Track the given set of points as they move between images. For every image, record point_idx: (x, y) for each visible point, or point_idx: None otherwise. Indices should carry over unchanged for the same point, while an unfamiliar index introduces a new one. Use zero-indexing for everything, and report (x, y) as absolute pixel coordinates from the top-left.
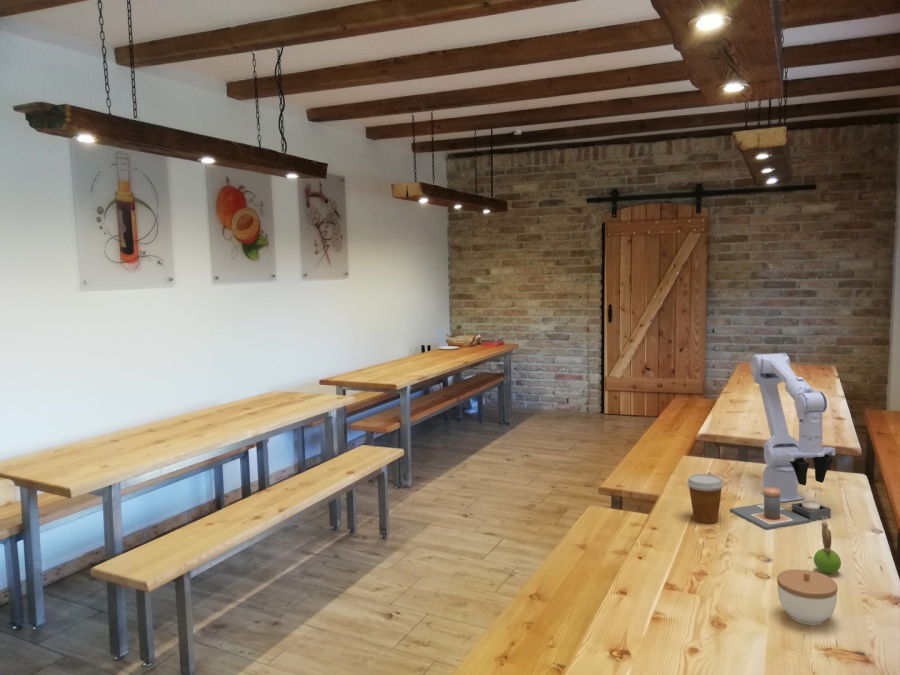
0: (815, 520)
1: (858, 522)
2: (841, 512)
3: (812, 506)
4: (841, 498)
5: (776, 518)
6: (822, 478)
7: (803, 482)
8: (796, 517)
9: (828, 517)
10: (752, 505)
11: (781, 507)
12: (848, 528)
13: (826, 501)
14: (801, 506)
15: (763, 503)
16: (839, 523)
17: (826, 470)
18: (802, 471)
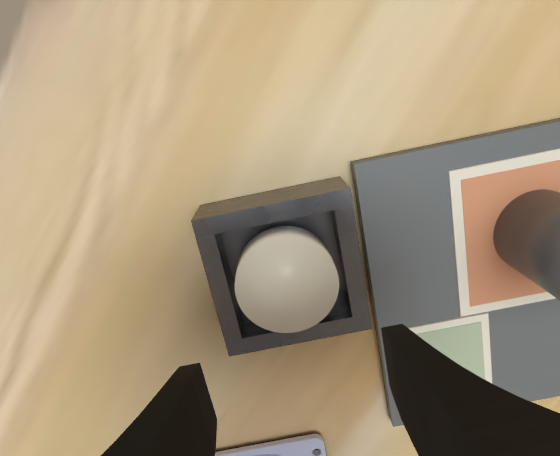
0: (303, 184)
1: (80, 114)
2: (98, 271)
3: (305, 239)
4: (3, 441)
5: (543, 191)
6: (186, 384)
7: (417, 339)
8: (403, 211)
9: (214, 203)
10: None
11: None
12: (187, 33)
13: (97, 417)
14: None
15: None
16: (196, 120)
17: (112, 453)
18: (530, 403)
